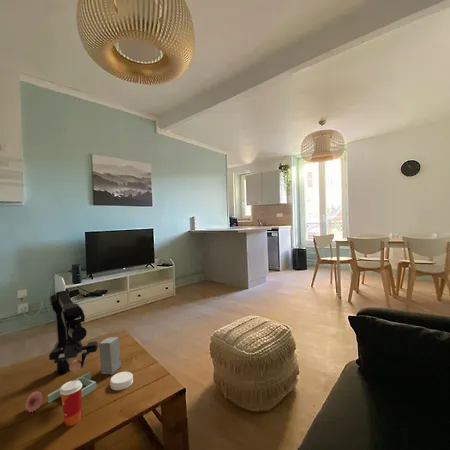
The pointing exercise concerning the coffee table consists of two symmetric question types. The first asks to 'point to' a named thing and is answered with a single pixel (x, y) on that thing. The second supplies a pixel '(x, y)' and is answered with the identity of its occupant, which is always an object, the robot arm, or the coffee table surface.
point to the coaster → (121, 380)
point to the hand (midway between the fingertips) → (75, 369)
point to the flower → (34, 401)
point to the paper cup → (71, 402)
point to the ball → (75, 365)
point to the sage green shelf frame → (86, 382)
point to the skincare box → (110, 355)
